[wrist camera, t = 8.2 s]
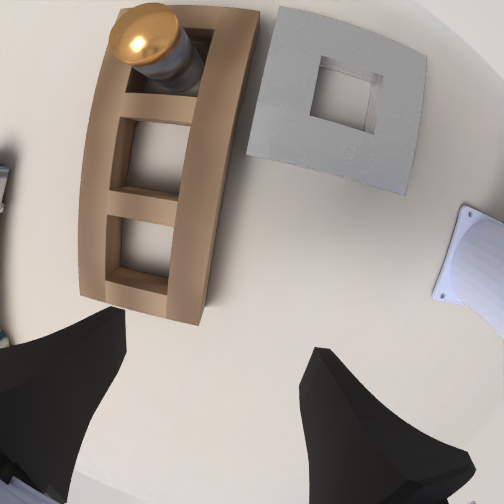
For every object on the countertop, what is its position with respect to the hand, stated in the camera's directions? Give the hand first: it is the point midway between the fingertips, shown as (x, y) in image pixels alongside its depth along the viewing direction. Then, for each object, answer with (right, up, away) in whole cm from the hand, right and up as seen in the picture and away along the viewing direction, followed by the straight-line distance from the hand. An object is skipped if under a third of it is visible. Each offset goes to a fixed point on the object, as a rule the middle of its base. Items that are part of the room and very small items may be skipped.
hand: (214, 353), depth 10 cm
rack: (-5, +10, +7) cm, 13 cm away
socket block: (+7, +13, +6) cm, 16 cm away
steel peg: (-3, +15, +5) cm, 17 cm away
